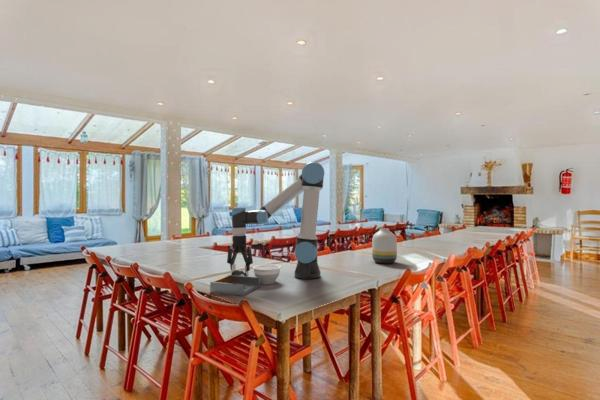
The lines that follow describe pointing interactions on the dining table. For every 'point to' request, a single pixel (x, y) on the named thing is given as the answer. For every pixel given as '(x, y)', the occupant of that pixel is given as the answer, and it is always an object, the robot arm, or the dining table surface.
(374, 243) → the vase
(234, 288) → the grey hollow tray
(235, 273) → the rock
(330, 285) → the dining table surface
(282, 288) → the dining table surface
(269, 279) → the bowl
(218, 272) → the dining table surface
